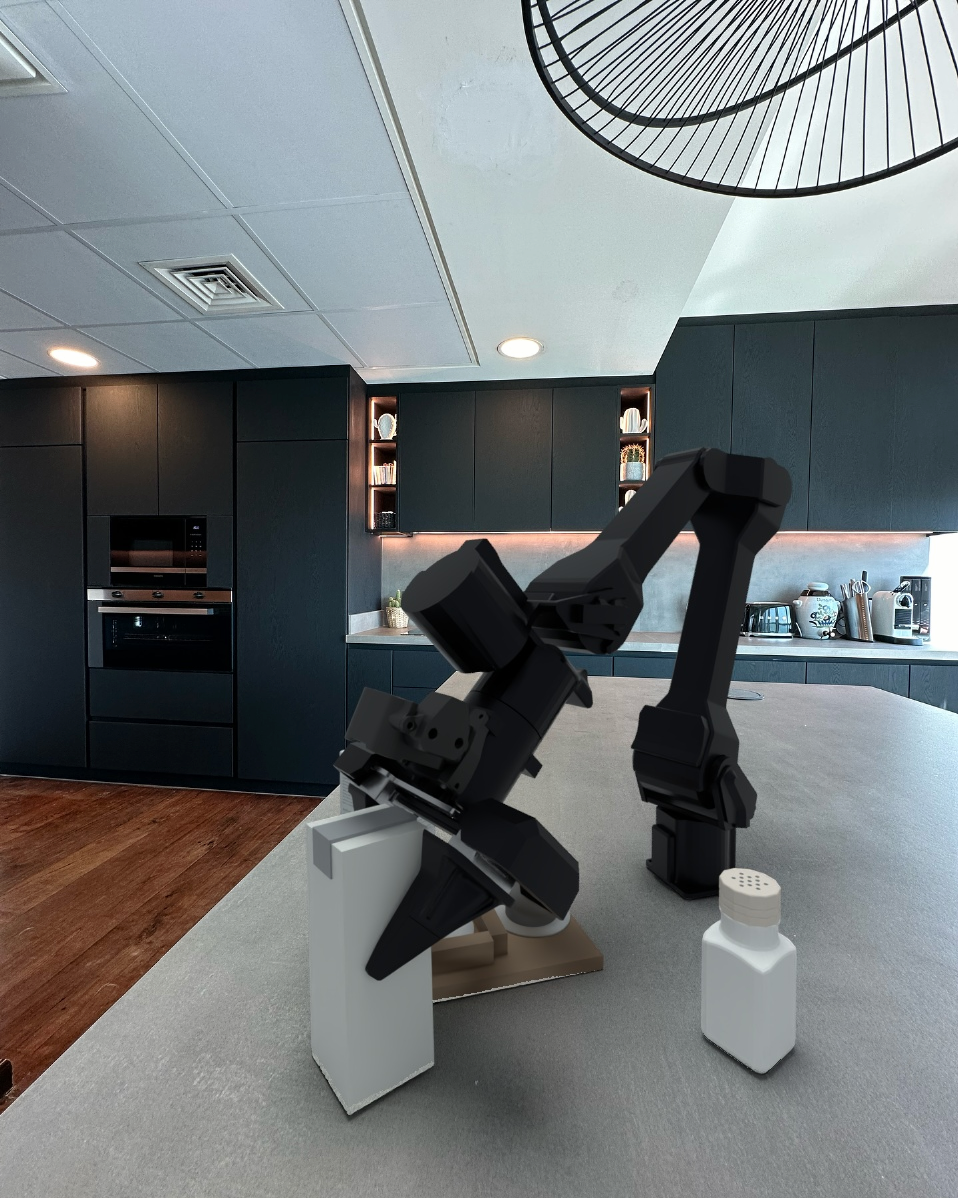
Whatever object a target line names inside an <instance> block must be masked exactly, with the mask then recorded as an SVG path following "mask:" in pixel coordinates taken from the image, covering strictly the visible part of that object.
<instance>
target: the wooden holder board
mask: <svg viewBox="0 0 958 1198" xmlns="http://www.w3.org/2000/svg"><path fill="white" fill-rule="evenodd" d="M509 895H510V896H511V897H513V898H514V899H515V900H516V903H515V904H514V906H513V907H512V908H511V909H509V908H507V907H506V906H504V905H500V906H498V907H496V908H494V909H492V910H490V911H489V912H487V913H485V914H483V915H482V916H480V917H478V918H476V919H474V920H473V921H471V922H469V923H467V924H466V925H464V926H462V927H460V928H459V929H457V930H455V931H454V932H452V933H450V934H449V935H447V936H446V937H444V938H443V939H441V940H440V941H438V942H437V943H435V944H434V945H433V946H431V965H432V1000H438V999H442V998H449V997H456V996H463V995H464V994H471V993H477V992H482V991H485V990H491V989H492V988H498V987H503V986H509V985H514V984H517V983H521V982H526V981H528V982H529V981H531V980H539V979H543V978H548V977H549V978H551V977H552V976H554V977H556V976H558V977H559V976H566V975H570V974H577V973H579V975H581V974H580V973H581V972H582V973H584V972H589V973H592V972H591V971H594V970H596V971H594V972H598V971H597V970H599V971H602V970H601V969H603V970H604V954H603V953H602V952H601V950H600V949H599V948H598V947H597V946H596V944H595V942H594V941H593V940H592V939H591V938H590V936H589V935H588V934H587V932H585V930H584V928H583V927H582V926H581V925H580V924H579V922H578V921H577V920H576V918H575V917H574V916H573V915H572V914H571V911H570V910H569V911H568V913H567V915H566V917H565V919H564V920H563V921H561V920H559V919H557V918H556V917H554V916H553V915H551V914H550V913H548V912H546V911H545V910H543V909H542V908H540V907H538V906H537V905H535V904H534V903H532V902H531V901H529V900H527V899H526V898H525V897H524V896H523V895H521V894H520V884H519V883H518V882H516V883H515V884H514V886H513V888H512V890H511V891H510V893H509ZM584 974H585V973H584Z"/></svg>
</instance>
